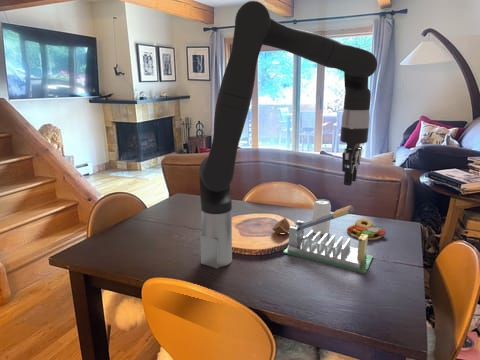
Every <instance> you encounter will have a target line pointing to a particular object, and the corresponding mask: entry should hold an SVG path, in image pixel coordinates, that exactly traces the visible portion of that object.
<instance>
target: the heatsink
mask: <svg viewBox="0 0 480 360" xmlns="http://www.w3.org/2000/svg"><path fill="white" fill-rule="evenodd" d="M303 223H305V221H302V220H297V221H296V223H295V226H296V225H297V224H303ZM304 231H305V229H302V230H299V231H298V228H296V227H294V226H291V225H290V228H289V233H288V245H287V248H286V249H284V250H283V253H282V254H285V255H289V256H292V257H297V258H300V259H304V260H309V261H312V262H315V263H318V264H319V263H320V264H324V265H328V266H332V267H336V268H338V269H343V270H347V271H351V272H354V273H359V274H363V275H366V273H367V272H368V269H369V267H370V265H371V263H372V261H373V259H372V258H374V255H371V254H367V250H368V241H369V240H368V235H366V234H361V236H360V237H359V239H358V244H357V245H358V246H357V247H353V246H351V241H352V240H351V238H350V237H348V238H347V240H346V242H345V243H343V241H344V240H343V238H344V236H340V237H339V239H338V240H337V241H336V234H332V235H331V237H330V238H329V240H328V236H329V233H326V234H325V235H322V238H321V235H320V233H321V232H318V233H317V234H314V233H313V230H312V229H311V230H310V231H309V232H308V233H307V234H306V235H304V234H305V233H304Z"/></svg>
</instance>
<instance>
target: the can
mask: <svg viewBox="0 0 480 360" xmlns="http://www.w3.org/2000/svg"><path fill="white" fill-rule="evenodd" d="M329 214H332V205H331V201H330V200H328V199H324V198H320V199H319V198H318V199H315V200H314V202H313V204H312V216H311V217H312V219H311V221H312V220H315V219H318V218H321V217H324V216H327V215H329ZM330 226H331V220H329V221H326V222H323V223H320V224H317V225H314V226H311V230H313V234H314V235H316V234H317V233H318V232H321V233H320V236H324V235H325V234H326V233H328V234H329V233H330V228H331V227H330Z"/></svg>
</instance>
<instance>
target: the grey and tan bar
mask: <svg viewBox="0 0 480 360" xmlns="http://www.w3.org/2000/svg"><path fill="white" fill-rule="evenodd" d="M354 210H355V208H354V206H352V205H351V204H350V205H347V206H344V207H341V208H339V209H338V208H337V209H336V210H335V211H334V212H331V214H329V215H327V216H324V217H321V218H318V219H315V220H312V219H311V220H309V221H307V222H304V223H303V224H297V225H296V224H295V225H294V226H293V227H296V228H298V231H299V230H302V229H304V230H305V229H308V228H310V227H311V228H312V226H314V225H317V224H320V223H323V222H326V221H329V220H330V221H333V220H335V219H337V218H340V217H341V218H342V217H343V216H347V215H349V214H352V213H353V211H354Z"/></svg>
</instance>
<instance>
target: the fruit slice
mask: <svg viewBox="0 0 480 360" xmlns="http://www.w3.org/2000/svg"><path fill="white" fill-rule="evenodd" d="M290 227H291V224H290V222H289V220H288V219H287V218H286V217H284V218H282V219H281V220H279V221H277V222H276V223H275V224H274V225H273V227H271V228H272V231H273V232H275V233H276V232H278V233H288V232H289V228H290ZM278 233H277V234H278ZM288 234H289V233H288Z"/></svg>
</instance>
